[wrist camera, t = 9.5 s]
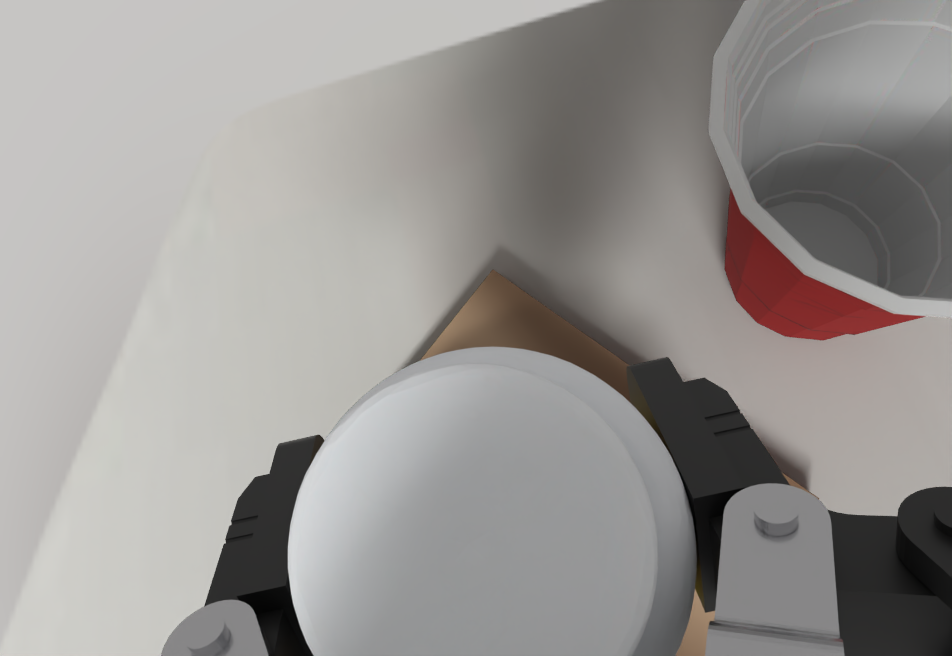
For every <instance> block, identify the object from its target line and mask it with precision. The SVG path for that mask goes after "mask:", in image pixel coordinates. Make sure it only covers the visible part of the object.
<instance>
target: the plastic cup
mask: <svg viewBox="0 0 952 656" xmlns="http://www.w3.org/2000/svg"><path fill="white" fill-rule="evenodd" d="M708 133H709V135H710V138H711V140H712V143H713V145H714V148H715V150H716V153H717V155H718V158H719V160H720V163H721V165H722V167H723V170H724V172H725V175H726V177H727V180H728V182H729V185H730V198H729V209H728V227H727V238H726V254H725V271H726V275H727V277H728V280H729V282H730V285H731V288H732V290H733V293H734V295H735V298H736V301H737V302H738V303H739V304H740V305H741V306H742V307H743V308H744V309H745V310H746V311H747V312H748V313H749V315H750V316H751V317H752V318H753V319H754V320H755V321H756V322H757V323H759V324H761V325H763V326H765V327H767V328H769V329H771V330H773V331H775V332H777V333H779V334H781V335H783V336H787V337H795V338H805V339H815V340H826V339H830V338H834V337H837V336H841V335H844V334H853V335H855V334H859V333H863V332H867V331H871V330H874V329H878V328H882V327H886V326H890V325H894V324H898V323H902V322H906V321H910V320H914V319H918V318H922V317H926V316H929V317H942V318H952V0H745V1H744V3H743V4H742V6H741V8H740V10H739V11H738V13H737V15H736V17H735V19H734V20H733V22H732V24H731V26H730V27H729V29H728V31H727V33H726V35H725V36H724V38H723V40H722V42H721V44H720V45H719V47H718V49H717V51H716V52H715V54H714V56H713V69H712V83H711V98H710V113H709V128H708Z"/></svg>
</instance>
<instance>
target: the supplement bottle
mask: <svg viewBox="0 0 952 656" xmlns="http://www.w3.org/2000/svg"><path fill="white" fill-rule="evenodd" d="M696 571H697V553H696V537H695V530H694V522H693V516H692V512H691V508H690V504H689V500H688V497H687V494H686V491H685V488H684V485H683V483H682V480H681V477H680V475H679V472H678V470H677V468H676V466H675V464H674V462H673V459H672V457H671V455H670V454H669V452H668V450H667V449H666V447H665V445H664V444H663V442H662V441H661V439H660V438H659V436H658V435H657V433H656V432H655V431H654V429H653V428H652V427H651V426H650V424H649V423H648V422H647V421H646V419H645V418H644V417H643V416H642V415H641V414H640V412H639V411H638V410H637V409H636V408H635V407H634V406H633V405H632V404H631V403H630V402H629V401H628V400H627V399H626V398H625V397H624V396H622V395H621V394H620V393H619V392H617V391H616V390H615V389H613V388H612V387H611V386H609V385H608V384H607V383H605V382H604V381H602V380H601V379H599V378H598V377H596V376H595V375H593V374H591V373H589V372H588V371H586V370H584V369H582V368H580V367H578V366H576V365H574V364H572V363H570V362H568V361H565V360H562V359H559V358H557V357H554V356H551V355H547V354H543V353H539V352H535V351H530V350H525V349H518V348H509V347H474V348H467V349H461V350H455V351H450V352H446V353H441V354H438V355H435V356H432V357H429V358H426V359H424V360H421V361H418V362H416V363H413V364H411V365H409V366H407V367H405V368H403V369H401V370H400V371H398V372H396V373H394V374H393V375H391V376H389V377H388V378H386V379H384V380H383V381H382V382H380V383H379V384H377V385H376V386H375V387H374V388H372V389H371V390H370V391H369V392H367V393H366V394H365V395H363V396H362V397H361V398H360V399H359V400H358V401H357V402H356V403H355V404H354V405H353V406H352V407H351V408H350V409H349V410H348V411H347V412H346V413H345V414H344V415H343V417H342V418H341V419H340V420H339V421H338V423H337V424H336V425H335V427H334V428H333V429H332V431H331V432H330V433H329V435H328V436H327V438H326V439H325V441H324V442H323V444H322V446H321V447H320V449H319V450H318V452H317V453H316V456H315V458H314V460H313V461H312V463H311V465H310V467H309V469H308V470H307V472H306V474H305V476H304V479H303V482H302V484H301V487H300V490H299V492H298V495H297V499H296V503H295V507H294V511H293V515H292V519H291V524H290V531H289V541H288V573H289V581H290V589H291V595H292V601H293V605H294V608H295V612H296V615H297V618H298V621H299V625H300V627H301V630H302V632H303V635H304V638H305V640H306V643H307V645H308V646H309V648H310V650H311V652H312V654H313V655H314V656H676V653H677V651H678V649H679V648H680V645H681V642H682V639H683V637H684V634H685V631H686V629H687V626H688V622H689V619H690V614H691V610H692V605H693V599H694V592H695V582H696Z"/></svg>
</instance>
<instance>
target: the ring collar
mask: <svg viewBox="0 0 952 656" xmlns="http://www.w3.org/2000/svg"><path fill="white" fill-rule="evenodd" d="M474 347H509V348H518V349H525V350H530V351H535V352H539V353H543V354H547V355H551V356H554V357H557V358H559V359H562V360H565V361H568V362H570V363H572V364H574V365H576V366H578V367H580V368H582V369H584V370H586V371H588V372H589V373H591V374H593V375H595V376H596V377H598V378H599V379H601V380H602V381H604V382H605V383H607V384H608V385H609V386H611V387H612V388H613V389H615V390H616V391H617V392H619V393H620V394H621V395H622V396H624V397H625V398H626V399H627V400H628V401H629V402H630V395H629V388H628V382H627V373H626V369H627V366H630V365H628V364H627V363H626V362H624V361H623V360H621V359H620V358H618V357H617V356H616V355H614V354H613V353H611V352H610V351H608V350H607V349H606V348H604V347H603V346H601V345H600V344H598V343H597V342H596V341H594V340H593V339H591V338H590V337H589V336H587V335H586V334H584V333H583V332H581V331H580V330H579V329H577V328H576V327H574V326H573V325H571V324H570V323H569V322H567V321H566V320H564V319H563V318H561V317H560V316H559V315H557V314H556V313H554V312H553V311H552V310H550V309H549V308H547V307H546V306H544V305H543V304H542V303H540V302H539V301H537V300H536V299H534V298H533V297H532V296H530V295H529V294H527V293H526V292H524V291H523V290H522V289H520V288H519V287H517V286H516V285H515V284H513V283H512V282H510V281H509V280H507V279H506V278H505V277H503V276H502V275H500V274H499V273H497V272H496V271H495V270H492V271H491V272H490V274H489V275H488V276H487V277H486V279H485V280H484V281H483V282H482V284H481V285H480V286H479V287H478V289H477V290H476V291H475V292H474V294H473V295H472V296H471V297H470V299H469V300H468V301H467V302H466V304H465V305H464V306H463V307H462V309H461V310H460V311H459V312H458V314H457V315H456V316H455V317H454V319H453V320H452V321H451V322H450V324H449V325H448V326H447V327H446V329H445V330H444V331H443V332H442V334H441V335H440V336H439V337H438V339H437V340H436V341H435V342H434V344H433V345H432V346H431V347H430V349H429V350H428V351H427V352H426V354H425V355H424V356H423V357H422V359H421V360H424V359H426V358H429V357H432V356H435V355H438V354H441V353H446V352H450V351H455V350H461V349H467V348H474ZM421 360H420V361H421ZM630 403H631V402H630ZM782 474H783V473H782ZM783 475H784V477H785V478H786V480H787V481H788V483H789V484H790V486H794V487H797V488H800V489H802V490H804V491H806V492H808V493H810V494H812V493H811V492H809V491H808V490H806V489H805V488H803V487H802V486H801V485H799V484H798V483H796V482H795V481H793V480H792V479H791V478H789V477H788V476H786V475H785V474H783ZM812 495H813V494H812ZM813 496H815V495H813ZM815 497H816V496H815ZM816 498H817V499H818V500H819V498H818V497H816ZM714 618H715V611H712V612H707V613H705V611H704V608H703V606H702V604H701V601H700V599H699V597H698V594H697V592H696V590H695V592H694V599H693V605H692V610H691V614H690V619H689V622H688V626H687V629H686V631H685V634H684V637H683V639H682V642H681V645H680V648H679V649H678V651H677V653H676V656H705V651H706V640H707V632H708V626H709V622H710V621H714Z"/></svg>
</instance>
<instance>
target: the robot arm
mask: <svg viewBox="0 0 952 656" xmlns="http://www.w3.org/2000/svg"><path fill="white" fill-rule="evenodd" d="M626 373H627V382H628V388H629V395H630V402H631V404H632V405H633V406H634V407H635V408H636V409H637V410H638V411H639V412H640V414H641V415H642V416H643V417H644V418H645V419H646V421H647V422H648V423H649V424H650V426H651V427H652V428H653V429H654V431H655V432H656V433H657V435H658V436H659V438H660V439H661V441H662V442H663V444H664V445H665V447H666V449H667V450H668V452H669V454H670V455H671V457H672V459H673V462H674V464H675V466H676V468H677V470H678V472H679V475H680V477H681V480H682V483H683V485H684V488H685V491H686V494H687V497H688V500H689V504H690V508H691V512H692V516H693V522H694V530H695V537H696V553H697V571H696V582H695V590H696V592H697V594H698V597H699V599H700V601H701V604H702V606H703V608H704V611H705V613H707V612H712V611H715V618H714V621H710V622H709V626H708V632H707V640H706V651H705V656H952V487H934V488H927V489H923V490H920V491H917V492H915V493H913V494H911V495H910V496H908V497H907V498H906V499H905V500H904V501H903V502H902V503H901V505H900V507H899V509H898V517H897V516H867V515H850V514H843V513H837V512H833V511H830V510H827V509H826V507H825V506H824V505H823V503H822V502H821V501H820V500H818V499H817V498H816V497H815V496H813V495H812V494H810V493H808V492H806V491H804V490H802V489H800V488H797V487H794V486H790V484H789V483H788V481H787V480H786V478H785V477H784V475H783V474H782V472H781V471H780V469H779V468H778V466H777V465H776V463H775V462H774V460H773V459H772V457H771V456H770V454H769V453H768V452H767V450H766V449H765V447H764V446H763V444H762V443H761V441H760V440H759V438H758V437H757V435H756V434H755V432H754V431H753V429H751V428H750V425H749V423H748V422H747V420H746V419H745V417H744V416H743V414H740V411H739V409H738V407H737V406H736V404H735V403H734V401H733V400H732V398H731V397H730V395H729V394H728V392H727V391H726V390H724V389H722V388H721V387H719V386H717V385H716V384H714V383H712V382H711V381H709V380H707V379H706V378H701V379H696V380H692V381H687V382H683V381H682V379H681V378H680V376H679V374H678V372H677V371H676V369H675V367H674V366H673V364H672V362H671V361H670V359H669V358H667V357H666V358H661V359H657V360H653V361H648V362H644V363H639V364H635V365H630V366H627V369H626ZM323 442H324V439H323V438H322V437H321V436H320V435H315V436H311V437H306V438H302V439H297V440H293V441H289V442H284V443H280V444H278V446H277V448H276V452H275V455H274V459H273V463H272V466H271V470H270V474H267V475H262V476H258V477H255V478H254V479H253V481H252V482H251V483H250V484H249V486H248V487H247V488H246V489H245V491H244V492H243V493H242V495H241V496H240V497H239V498H238V501H237V504H236V507H235V510H234V513H233V517H232V520H231V522H232V525H230V526H229V529H228V533H227V536H226V539H225V540H226V544H224V545H223V548H222V552H221V555H220V558H219V561H218V564H217V568H216V571H215V574H214V577H213V580H212V584H211V587H210V590H209V593H208V596H207V599H206V603H205V606H204V607H202V608H201V609H199V610H197V611H195V612H194V613H192V614H191V615H190V616H188V617H187V618H186V619H185V620H183V621H182V622H181V623H180V624H179V625H178V626H177V627H176V628H175V630H174V631H173V632H172V634H171V635H170V636H169V638H168V640H167V641H166V643H165V645H164V648H163V650H162V654H161V656H314V655H313V654H312V652H311V650H310V648H309V646H308V645H307V643H306V640H305V638H304V635H303V632H302V630H301V627H300V625H299V621H298V618H297V615H296V612H295V608H294V605H293V601H292V595H291V589H290V581H289V573H288V541H289V531H290V524H291V519H292V515H293V511H294V507H295V503H296V499H297V495H298V492H299V490H300V487H301V484H302V482H303V479H304V476H305V474H306V472H307V470H308V469H309V467H310V465H311V463H312V461H313V460H314V458H315V456H316V453H317V452H318V450H319V449H320V447H321V446H322V444H323Z"/></svg>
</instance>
